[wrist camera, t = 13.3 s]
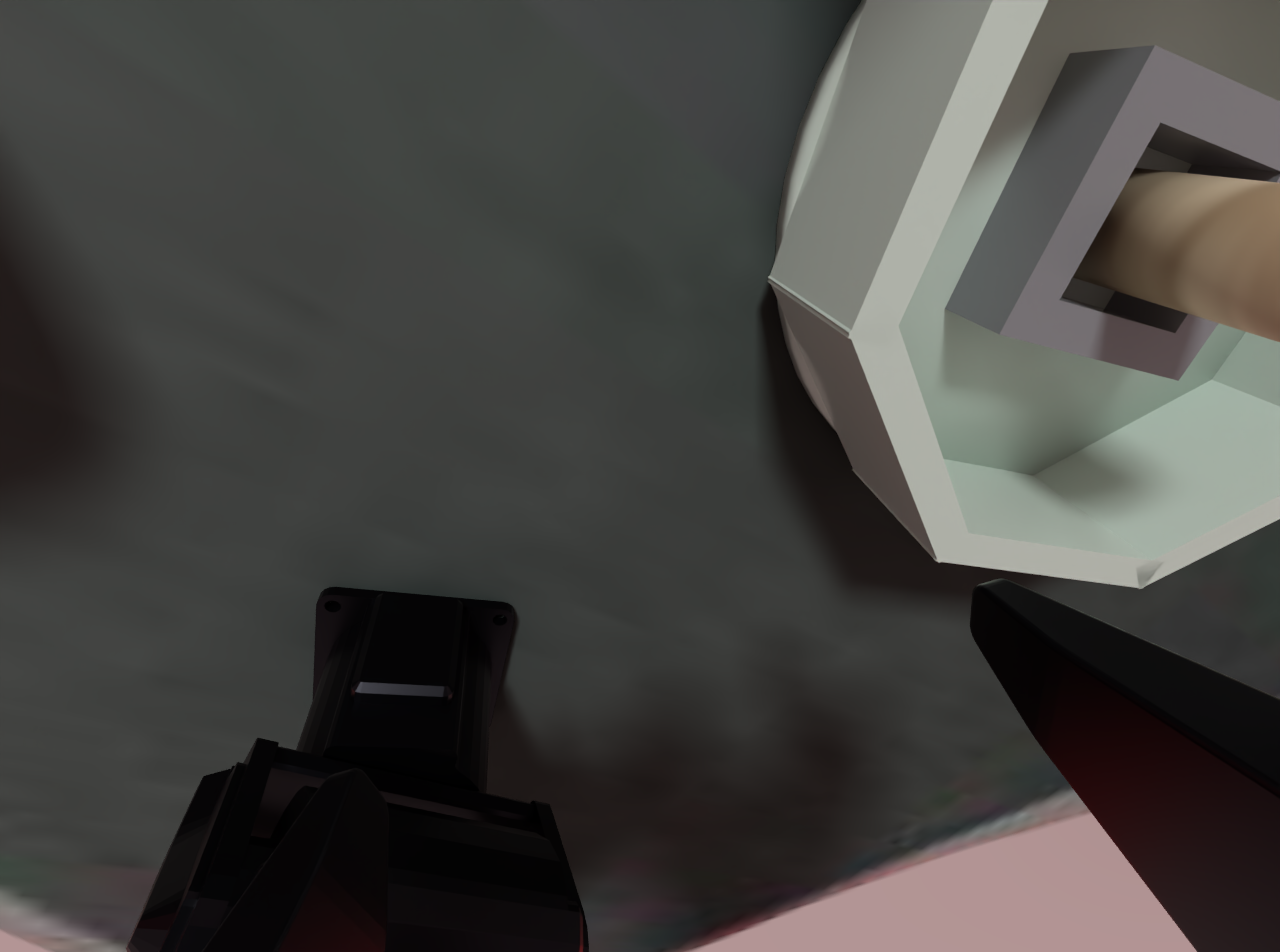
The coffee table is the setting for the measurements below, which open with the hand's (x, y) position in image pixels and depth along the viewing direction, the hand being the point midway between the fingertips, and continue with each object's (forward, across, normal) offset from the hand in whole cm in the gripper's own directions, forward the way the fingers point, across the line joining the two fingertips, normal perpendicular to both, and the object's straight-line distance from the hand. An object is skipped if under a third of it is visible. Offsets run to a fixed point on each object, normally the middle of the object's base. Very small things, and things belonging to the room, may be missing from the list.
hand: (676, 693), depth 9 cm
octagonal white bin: (+12, -15, -1) cm, 19 cm away
